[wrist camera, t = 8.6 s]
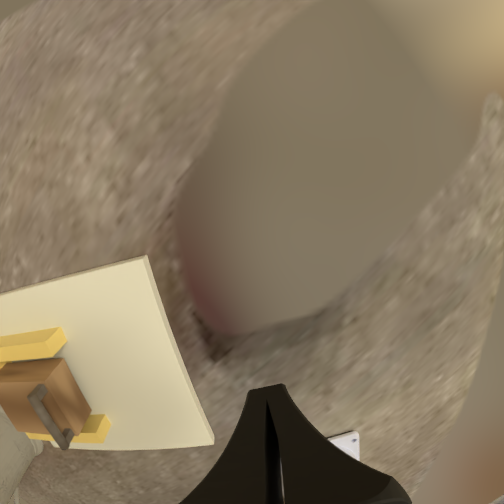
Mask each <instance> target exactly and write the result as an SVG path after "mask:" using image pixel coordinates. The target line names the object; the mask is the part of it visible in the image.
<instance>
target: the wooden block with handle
mask: <svg viewBox="0 0 504 504" xmlns="http://www.w3.org/2000/svg"><path fill="white" fill-rule="evenodd" d="M0 405H1V407H2V408H3V410H4V412H5V413H6V415H7V416H8V418H9V419H10V421H11V422H12V424H13V425H14V427H15V428H16V430H17V431H18V432H27V433H36V434H47V435H51V436H52V437H53V439H54V440H55V441H56V443H57V444H58V446H59V447H60V448H61V450H66V449H68V448H69V446H70V443H71V441H72V439H73V437H74V436H79V434H80V432H81V430H82V428H83V426H84V424H85V423H86V421H87V419H88V417H89V415H90V413H91V411H92V409H91V408H90V406H89V404H88V403H87V401H86V399H85V397H84V396H83V394H82V392H81V390H80V388H79V386H78V385H77V383H76V381H75V379H74V377H73V375H72V373H71V371H70V369H69V367H68V365H67V363H66V361H65V359H64V358H57V359H49V360H39V361H27V362H14V363H6V364H5V365H4V366H3V367H2V368H1V369H0Z"/></svg>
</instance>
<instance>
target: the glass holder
mask: <svg viewBox="0 0 504 504" xmlns="http://www.w3.org/2000/svg"><path fill="white" fill-rule="evenodd" d="M42 451H43V442H42V440H37V439H29V437H28V436H27V434H26V433H25V432H18V431H17V430H16V428H15V427H14V425H13V424H12V422H11V421H10V419H9V418H8V416H7V415H6V413H5V412H4V410H3V408H2V407H1V405H0V504H8V502H9V500H10V499H11V497H12V495H13V493H14V504H20V499H19V487H18V484H19V482H20V481H21V479H22V477H23V475H24V474H25V472H26V470H27V468H28V467H29V465H30V463H31V461H32V460H33V458H34V457H35V456H36V455H39V454H40V453H41V452H42Z"/></svg>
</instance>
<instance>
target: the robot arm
mask: <svg viewBox="0 0 504 504" xmlns="http://www.w3.org/2000/svg"><path fill="white" fill-rule="evenodd" d="M283 496H284V500H285V504H412V502H411V499H410V497H409V496H408V494H407V493H406V491H405V490H404V489H403V488H402V486H401V485H400V484H399V483H398V482H397V481H396V480H395V479H394V478H393V477H392V476H389V475H387V474H384V473H382V472H380V471H377V470H375V469H373V468H371V467H369V466H367V465H365V464H363V463H361V462H359V434H358V432H357V431H352V432H349V433H345V434H342V435H339V436H335V437H332V438H328V439H327V438H325V437H324V436H323V435H322V434H321V433H320V432H319V431H318V430H317V429H316V428H315V427H314V426H313V425H312V424H311V423H310V422H309V421H308V420H307V418H306V417H305V416H304V415H303V414H302V412H301V411H300V410H299V409H298V407H297V406H296V405H295V403H294V402H293V400H292V399H291V397H290V395H289V393H288V391H287V389H286V387H285V385H284V384H282V383H281V384H277V385H272V386H267V387H263V388H258V389H253V390H250V391H249V392H248V394H247V398H246V402H245V405H244V408H243V411H242V414H241V417H240V419H239V421H238V424H237V426H236V429H235V431H234V433H233V435H232V437H231V439H230V441H229V443H228V445H227V446H226V448H225V450H224V452H223V453H222V455H221V456H220V458H219V459H218V461H217V462H216V464H215V465H214V466H213V468H212V469H211V470H210V472H209V473H208V474H207V476H206V477H205V478H204V479H203V480H202V482H201V483H200V484H199V485H198V486H197V487H196V488H195V489H194V490H193V491H192V492H191V493H190V494H189V495H188V496H187V497H186V498H185V499H184V500H183V501H181V502H180V503H179V504H284V501H283ZM490 504H504V494H503V495H502V496H500V497H499V498H497V499H496V500H494V501H493V502H491V503H490Z"/></svg>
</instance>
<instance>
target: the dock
mask: <svg viewBox="0 0 504 504" xmlns="http://www.w3.org/2000/svg"><path fill="white" fill-rule="evenodd" d="M57 358H64V359H65V361H66V363H67V365H68V367H69V369H70V371H71V373H72V375H73V377H74V379H75V381H76V383H77V385H78V386H79V388H80V390H81V392H82V394H83V396H84V397H85V399H86V401H87V403H88V404H89V406H90V408H91V409H92V411H91V413H90V415H89V417H88V419H87V421H86V423H85V424H84V426H83V428H82V430H81V432H80V434H79V436H74V437H73V439H72V441H71V443H70V446H69V448H72V449H90V450H152V449H171V448H184V447H195V446H204V445H213V444H214V434H213V432H212V430H211V427H210V425H209V423H208V421H207V418H206V416H205V414H204V412H203V409H202V407H201V405H200V402H199V400H198V398H197V395H196V393H195V390H194V388H193V385H192V383H191V380H190V378H189V375H188V373H187V370H186V368H185V365H184V363H183V360H182V357H181V355H180V352H179V350H178V347H177V344H176V341H175V339H174V336H173V333H172V330H171V328H170V325H169V322H168V319H167V316H166V313H165V310H164V307H163V304H162V301H161V298H160V295H159V292H158V289H157V286H156V283H155V280H154V277H153V273H152V270H151V267H150V264H149V260H148V257H147V255H144V256H140V257H136V258H132V259H128V260H124V261H120V262H116V263H112V264H108V265H105V266H101V267H97V268H93V269H89V270H85V271H81V272H78V273H74V274H70V275H66V276H63V277H59V278H55V279H51V280H48V281H44V282H40V283H36V284H33V285H29V286H25V287H22V288H18V289H15V290H11V291H7V292H4V293H0V369H1V368H2V367H3V366H4V365H5V364H6V363H14V362H27V361H39V360H49V359H57ZM25 433H26V434H27V436H28V437H29V439H37V440H47V441H50V442H51V443H52V444H53V446H54V447H59V446H58V444H57V443H56V441H55V440H54V439H53V437H52V436H51V435H47V434H36V433H27V432H25Z"/></svg>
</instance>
